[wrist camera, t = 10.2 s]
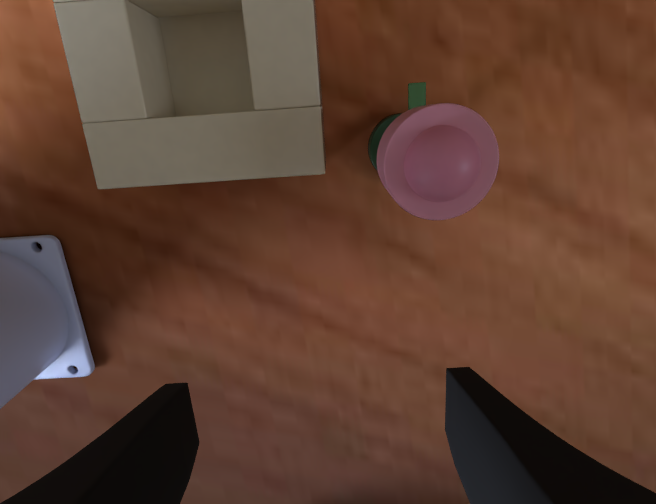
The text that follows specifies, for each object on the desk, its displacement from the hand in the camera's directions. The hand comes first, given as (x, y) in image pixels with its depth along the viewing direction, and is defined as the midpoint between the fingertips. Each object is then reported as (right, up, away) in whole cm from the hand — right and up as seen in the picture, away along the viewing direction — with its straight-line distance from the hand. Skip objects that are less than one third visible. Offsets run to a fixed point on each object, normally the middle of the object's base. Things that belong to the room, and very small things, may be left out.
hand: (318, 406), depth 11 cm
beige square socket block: (-5, +12, +7) cm, 15 cm away
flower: (+4, +9, +8) cm, 13 cm away
